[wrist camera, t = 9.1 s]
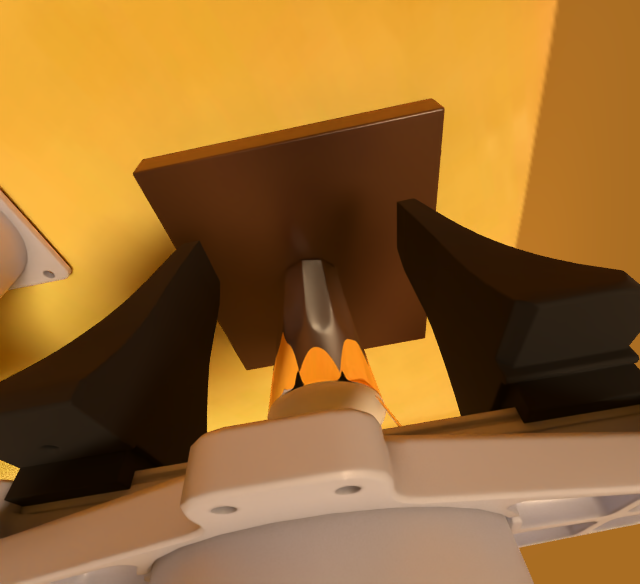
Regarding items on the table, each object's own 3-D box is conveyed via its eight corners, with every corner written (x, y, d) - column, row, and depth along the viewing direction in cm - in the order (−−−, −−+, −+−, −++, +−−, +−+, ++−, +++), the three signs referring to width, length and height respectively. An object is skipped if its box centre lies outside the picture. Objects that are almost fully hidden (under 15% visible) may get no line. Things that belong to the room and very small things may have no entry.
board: (247, 353, 25) (246, 370, 24) (141, 159, 15) (131, 173, 14) (418, 322, 25) (425, 338, 24) (432, 97, 14) (445, 107, 13)
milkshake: (377, 278, 19) (439, 462, 12) (302, 319, 21) (316, 500, 14) (335, 224, 16) (382, 420, 9) (252, 276, 18) (237, 475, 11)
